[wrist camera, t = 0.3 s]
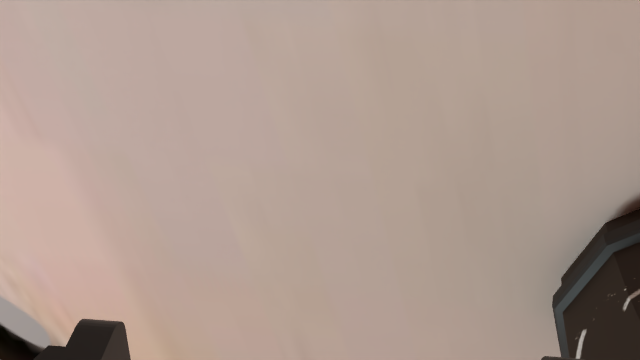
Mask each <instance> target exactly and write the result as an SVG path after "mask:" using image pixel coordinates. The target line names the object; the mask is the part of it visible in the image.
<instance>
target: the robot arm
mask: <svg viewBox="0 0 640 360" xmlns="http://www.w3.org/2000/svg"><path fill="white" fill-rule="evenodd" d="M33 360H131V359H130V353H129V347H128V341H127V335H126V329H125V325H124V323H123V322H118V321H105V320H93V319H82V320H81V321H79V323H78V324H77V326H76V327H75V329H74V331H73V333H72V335H71V337H70V339H69V341H68V343H67V345H66V347H62V346H48V347H47V348H45V349H44V350H43V351H42V352H41V353H40V354H39V355H38V356H37V357H36V358H35V359H33ZM541 360H584V359H575V358H562V357H549V356H545V357H543V358H542V359H541Z"/></svg>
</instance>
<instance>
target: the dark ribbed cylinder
mask: <svg viewBox="0 0 640 360" xmlns="http://www.w3.org/2000/svg"><path fill="white" fill-rule="evenodd" d="M561 283H562V286H561V287H560V288H559V289H558V291H557V292H556V293H555V294H554V295H553V304H552V307H553V312H554V318H555V324H556V329H557V335H558V341H559V346H560V352H561V357H562V358H575V359H584V360H640V209H638V210H636V211H634V212H631V213H629V214H626V215H624V216H621V217H619V218H617V219H614V220H612V221H609V222H607V223H605V224H604V225H603V227H602V228H601V229H600V230H599V232H598V233H597V234H596V235H595V237H594V238H593V239H592V240H591V242H590V243H589V244H588V245H587V247H586V248H585V249H584V250H583V252H582V253H581V254H580V255H579V256H578V258H577V259H576V260H575V261H574V263H573V264H572V265H571V266H570V268H569V269H568V270H567V271H566V273H565V274H564V275H563V276H562V278H561Z"/></svg>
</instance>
